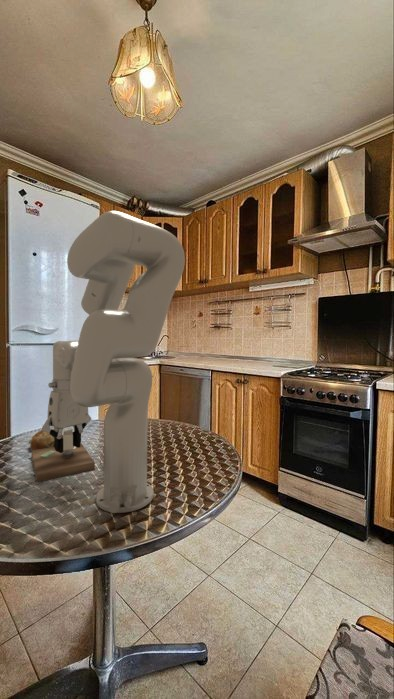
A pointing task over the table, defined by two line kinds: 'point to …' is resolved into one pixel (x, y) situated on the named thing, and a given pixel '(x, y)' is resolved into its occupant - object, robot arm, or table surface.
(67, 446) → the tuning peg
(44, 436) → the bread roll
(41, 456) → the dial marks
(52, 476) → the brown wooden flat board
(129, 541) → the table surface
